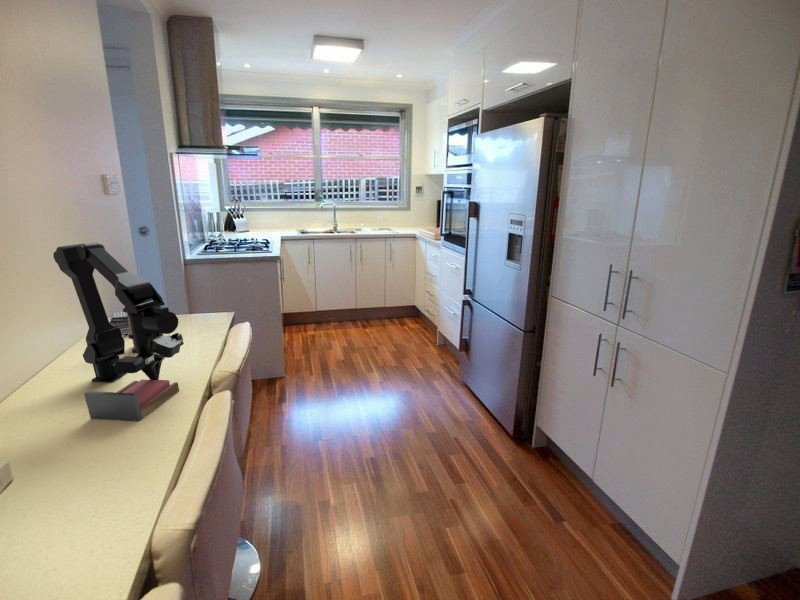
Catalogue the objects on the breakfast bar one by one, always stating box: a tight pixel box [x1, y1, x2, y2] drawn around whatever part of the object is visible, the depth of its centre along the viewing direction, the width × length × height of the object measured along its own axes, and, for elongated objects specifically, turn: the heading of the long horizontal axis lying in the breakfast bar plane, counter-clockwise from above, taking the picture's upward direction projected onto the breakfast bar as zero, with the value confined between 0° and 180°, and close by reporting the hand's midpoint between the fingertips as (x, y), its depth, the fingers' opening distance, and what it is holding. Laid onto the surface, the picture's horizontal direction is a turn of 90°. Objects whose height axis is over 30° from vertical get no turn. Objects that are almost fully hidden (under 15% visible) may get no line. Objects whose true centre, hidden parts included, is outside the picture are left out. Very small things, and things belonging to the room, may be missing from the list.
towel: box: [109, 310, 131, 336], centre depth 163 cm, size 15×18×8 cm
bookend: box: [83, 390, 143, 422], centre depth 98 cm, size 13×1×7 cm, turn 83°
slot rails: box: [115, 380, 180, 420], centre depth 106 cm, size 13×14×2 cm
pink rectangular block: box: [122, 379, 171, 408], centre depth 106 cm, size 8×12×4 cm, turn 174°
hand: (155, 381), depth 112 cm, fingers closed
